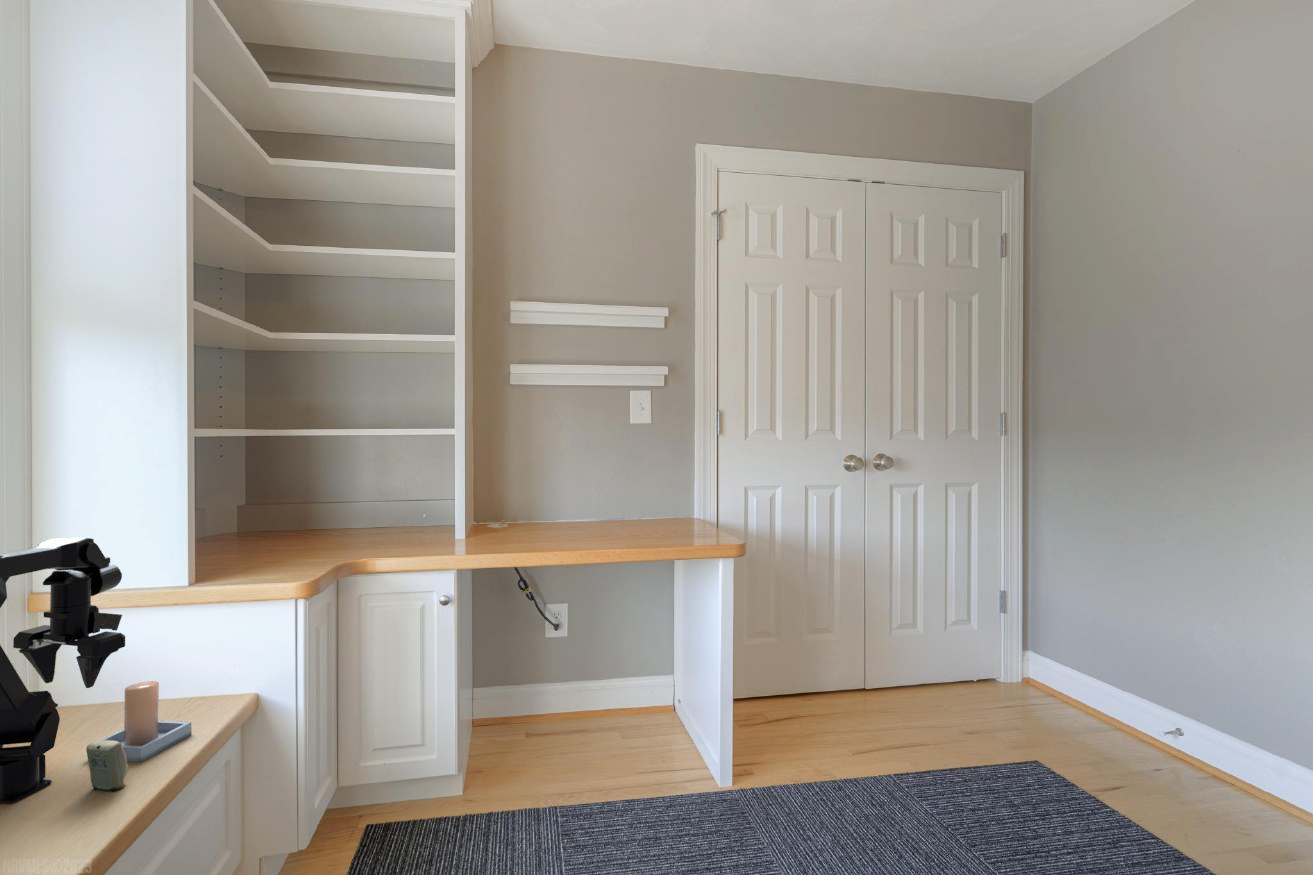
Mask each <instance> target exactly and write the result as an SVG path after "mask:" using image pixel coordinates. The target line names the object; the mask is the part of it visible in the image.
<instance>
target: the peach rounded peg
mask: <svg viewBox="0 0 1313 875" xmlns="http://www.w3.org/2000/svg"><path fill="white" fill-rule="evenodd" d="M159 688H160V683H159V682H158V681H156V680H154V681H151V680H150V681H141V682H137V683H134V684H130V685H129V686H126V687H125V688H124V715H123V716H124V726H123V729H124V745H129V746H143V745H145V744H147V743H149V742H151V741H153V740H154V739H156V738H158V731H159V721H160V720H159V718H160V717H159V714H160V712H159V710H160V708H159V706H160V705H159V704H160V702H159V701H160V699H159V698H160V693H159V692H160V691H159V690H160V689H159Z"/></svg>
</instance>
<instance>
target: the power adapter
mask: <svg viewBox="0 0 1313 875" xmlns="http://www.w3.org/2000/svg"><path fill="white" fill-rule="evenodd" d="M85 750H86V756H87V760H88V761H87V762H88V767H89V772H90V773H89V775H90V781H91V786H92V788H93V790H94V791H102V792H116V791H119V790H121V789H123V788H124V787H126V785H125V781H124V780H125V778H126V776H127V774H128V773H129V772H128V771H129V765H128V761H127V759H126V755H125V752H124V750H123V747H122V745H121V743H120V742H118V741H111V740H105V741H99V740H97V741H93V742H90V743H89V744H88V745H87V746H86V749H85Z"/></svg>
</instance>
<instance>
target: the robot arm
mask: <svg viewBox="0 0 1313 875" xmlns="http://www.w3.org/2000/svg"><path fill="white" fill-rule="evenodd" d="M94 540H95V539H94V538H93V537H90V536H86V537H81V536H80V537H61V538H60V537H54V538H50V539H48V540H45V541H42V542H40V543H38V544H37V546H36V547H33V548H28V549H21V550H17V551H16V550H15V551H9V552H3V553H0V609H1V608H2V607H3V605H4V604H5V602H6V600H7V598H8V593H7V592H8V591H7V582H8V580H9V579H10V578H11V577H15V576H20V575H25V574H28V573H29V574H30V573H34V572H38V571H43V570H53V571H52V572H51V574H50V575H49V576H48V577H45V579H44V580H43V582H42V585H43V586H50V593H49V594H50V598H49V603H50V604H49V605H50V606H49V607H50V608H49V610H47V611H43V618H47V619H49V625H48V624H47V625H46V624H44V625H40V626H36V627H32V628H29V629H26V630H25V629H24V630H21V631H18V633H17V634H16V635H15V636H14V637H13V639H12V641H13V647H12V648H13V649H18V652H19V653H20V654H22V655H23V656H24V657H25V658H26V659H27V660H28V662H29V663H30V664H31V666H32V667H33V668H34V669H35V671H36V672H37V674H38V675H39V676H40V678H41V679H42V681H43V682H44V683H45V684H50V683H53V681H54V678H55V677H54V676H55V673H56V662H57V653H58V651H59V650H60V648H61V647H62V646H64V645H65V646H72V647H73V646H75V647H76V649H77V650H76V651H77V653H78V654H79V655H78V656H76V662H77V665H78V667H79V668H78V669H79V671H80V675H81V678H82V682H83V685H84V687H85V688H86V689H90V688H93V687H94V685H95V683H96V681H97V679H98V676H99V674H100V672H101V669H102V668H103V665H104V663H105V662H106V660H107V659H108V657H109V656H111V655H112V654H113V653H116V652H118V651H119V649H122V648H125V647H126V635H125V634H123V633H121V632H117V631H118V629H119V625H120V624H121V619H122V617H123V614H119V613H109V612H100V611H99V607H98V606H97V605H94V604H93V605H92V604H91V603H92V602H91V601H92V597H94V596H96V595H99V594H102V593H104V592H107V591H109V590H111V589H114V588H116V587H117V586H118V585H119V584H120V583H121V580H122V579H123V578H122V577H123V574H122V571H121V569H120V568H119V567H118V566H117V565H116V564H114V563H112V562H111V557H110V556H107V557H106V556H105V554H103V552H102V550H101V548H100V547H99V545H98V544H97V543H96V542H95V541H94ZM101 630H105V631H103V632H100V631H101ZM107 630H111V631H107ZM114 631H116V632H114ZM99 632H100V633H99ZM90 634H91V635H90ZM92 634H94V635H92ZM58 706H59V704H58V703H56V702H55V701H54V699H53V697H52V694H51V693H50V691H48V690H38V691H36V690H35V691H29V690H28V688H27V687H26V685H25V683H24V682H23V680H22V678H21V677H20V675H19V673H18V672H17V670H16V668H15V667H14V665H13V663H12V662H11V660H10V659H9V657H8V655H7V654H6V652H5V650H4V648H3V647H2V646H1V644H0V804H13V803H16V802H18V801H19V800H22V799H23V798H26V797H28V796H29V795H31V794H33V793H35V792H37V791H39V790H40V789H43V788H45V787H47V786H49V785H51V784H52V781H53V780H52V779H46V776H47V775H46V770H47V768H46V754H45V753H47V752H49V751H50V750H52V749H53V748H54V747H55V743H56V740H57V734H58V729H59V726H60V720H61V718H60V714H59V711H58V709H57V707H58ZM18 744H29V745H20V746H18ZM4 745H17V746H9V747H8V746H7V747H4ZM15 801H16V802H15Z"/></svg>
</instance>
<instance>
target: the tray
mask: <svg viewBox="0 0 1313 875" xmlns="http://www.w3.org/2000/svg"><path fill="white" fill-rule="evenodd" d="M191 735H192V722H191V721H175V720H159V731H158V738H156V739H154V740H153V741H151V742H149V743H147V744H145V745H143V746H129V745H124V728H123V729H120V730H118V731H117V732H114V733H112V734H110V735H108V736H106V737H103V738H102V739H100V740H98V741H105V740H111V741H118V742H120V743H121V745H122V747H123V750H124V752H125V755H126V759H127V762H137V763H143V762H145V761H146V760H148V759H150V758H151V757H153V756H155V755H157V754H159V753H160V752H163V751H164V750H166V749H167V748H169V747H171V746H173V745H175V744H177V743H179V742H180V741H182V740H184V739H185V738H188V737H190V736H191Z"/></svg>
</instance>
